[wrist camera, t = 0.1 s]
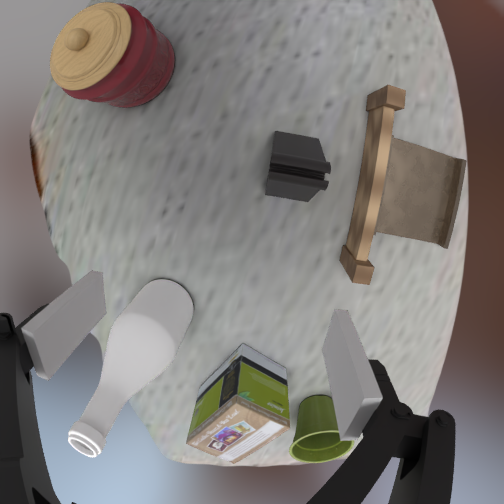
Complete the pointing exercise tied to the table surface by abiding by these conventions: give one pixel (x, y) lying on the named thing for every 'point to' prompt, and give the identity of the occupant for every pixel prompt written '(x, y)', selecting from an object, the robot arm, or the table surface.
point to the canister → (112, 56)
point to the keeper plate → (420, 193)
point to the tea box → (241, 406)
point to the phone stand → (296, 167)
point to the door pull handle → (371, 182)
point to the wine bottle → (134, 357)
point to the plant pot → (318, 432)
